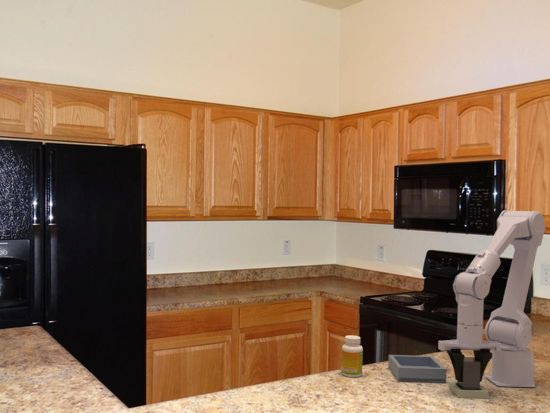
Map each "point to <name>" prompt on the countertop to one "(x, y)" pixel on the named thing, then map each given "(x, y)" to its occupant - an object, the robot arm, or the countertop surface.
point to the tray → (417, 369)
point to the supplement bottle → (352, 357)
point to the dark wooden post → (470, 374)
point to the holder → (468, 392)
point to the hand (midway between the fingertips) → (468, 380)
